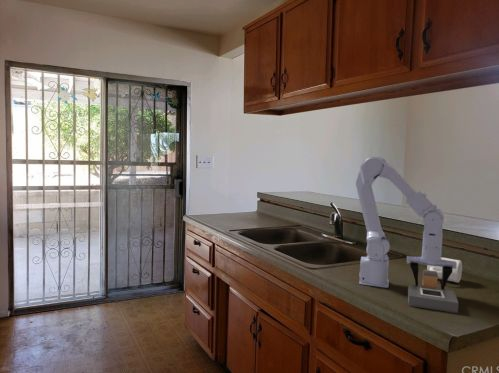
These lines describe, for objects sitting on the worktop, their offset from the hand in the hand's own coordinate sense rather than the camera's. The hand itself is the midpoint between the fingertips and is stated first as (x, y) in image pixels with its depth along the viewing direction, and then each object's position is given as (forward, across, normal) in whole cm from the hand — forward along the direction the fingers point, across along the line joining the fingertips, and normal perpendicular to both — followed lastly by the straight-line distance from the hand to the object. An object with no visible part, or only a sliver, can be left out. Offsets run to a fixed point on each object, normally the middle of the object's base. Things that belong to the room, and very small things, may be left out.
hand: (429, 287), depth 125 cm
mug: (+2, +6, +16) cm, 18 cm away
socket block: (+2, 0, -10) cm, 10 cm away
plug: (+2, 0, 0) cm, 2 cm away
